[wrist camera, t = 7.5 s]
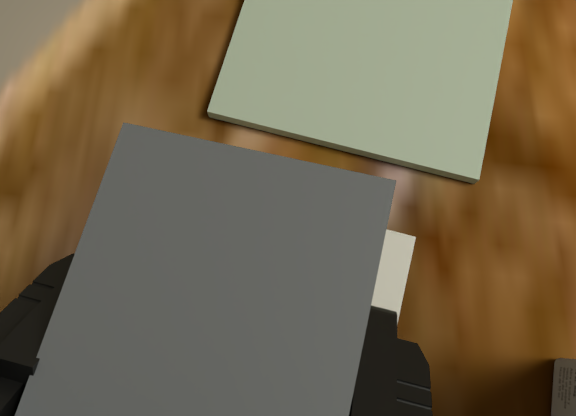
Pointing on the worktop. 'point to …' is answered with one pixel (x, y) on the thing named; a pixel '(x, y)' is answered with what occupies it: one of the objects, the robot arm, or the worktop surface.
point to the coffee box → (564, 388)
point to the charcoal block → (214, 286)
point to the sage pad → (369, 77)
